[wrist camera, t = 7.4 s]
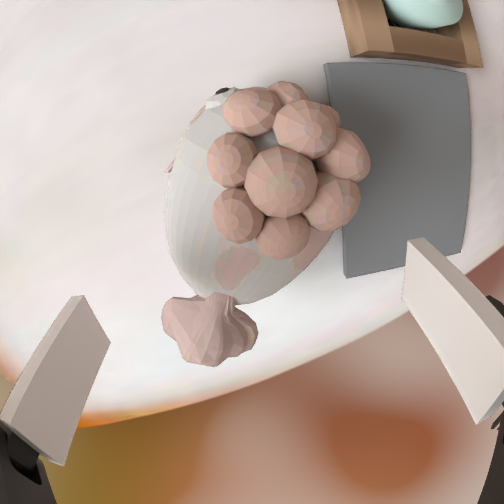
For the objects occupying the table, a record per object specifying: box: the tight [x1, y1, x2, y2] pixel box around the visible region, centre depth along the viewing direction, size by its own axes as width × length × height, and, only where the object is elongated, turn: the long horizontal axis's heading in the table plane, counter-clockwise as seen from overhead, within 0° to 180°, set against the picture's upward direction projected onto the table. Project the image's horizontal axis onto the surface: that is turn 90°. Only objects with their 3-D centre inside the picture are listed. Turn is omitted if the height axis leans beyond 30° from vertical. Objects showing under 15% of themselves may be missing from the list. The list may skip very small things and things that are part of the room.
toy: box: [161, 81, 371, 367], centre depth 15 cm, size 10×15×10 cm, turn 157°
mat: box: [324, 63, 471, 279], centre depth 18 cm, size 16×12×1 cm
